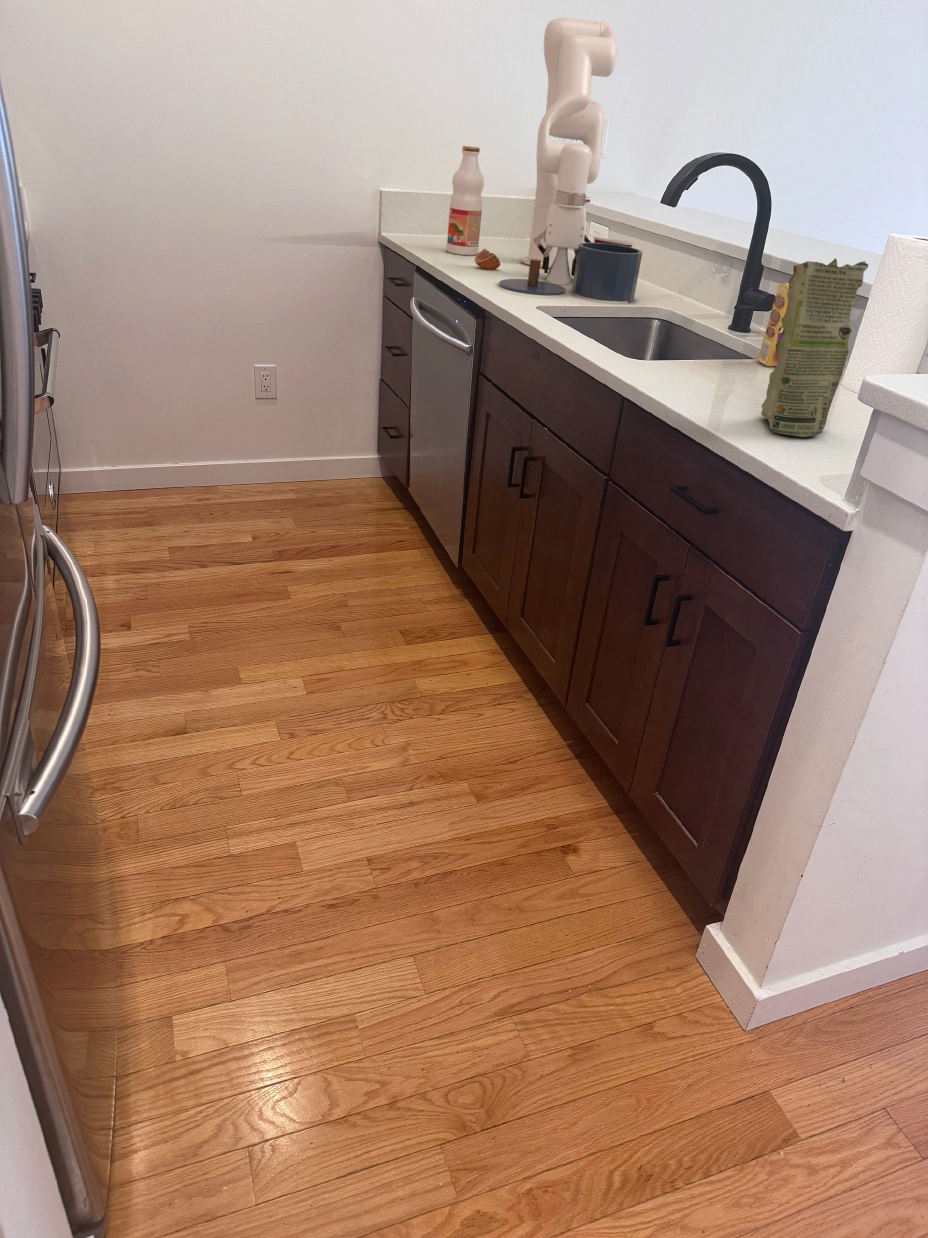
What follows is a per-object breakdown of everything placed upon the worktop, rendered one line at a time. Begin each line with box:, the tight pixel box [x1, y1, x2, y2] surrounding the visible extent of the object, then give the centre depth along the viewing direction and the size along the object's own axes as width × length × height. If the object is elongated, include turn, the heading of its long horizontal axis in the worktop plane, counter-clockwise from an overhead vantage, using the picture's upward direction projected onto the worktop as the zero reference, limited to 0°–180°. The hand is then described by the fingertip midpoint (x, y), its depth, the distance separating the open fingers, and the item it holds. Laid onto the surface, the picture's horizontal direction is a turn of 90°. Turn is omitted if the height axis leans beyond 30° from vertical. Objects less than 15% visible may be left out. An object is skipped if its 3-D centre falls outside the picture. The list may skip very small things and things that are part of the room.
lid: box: [498, 259, 566, 296], centre depth 217 cm, size 17×17×7 cm
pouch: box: [760, 257, 869, 438], centre depth 132 cm, size 11×12×25 cm
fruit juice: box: [446, 145, 485, 256], centre depth 254 cm, size 9×9×28 cm
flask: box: [545, 247, 573, 284], centre depth 231 cm, size 7×7×10 cm
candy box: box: [757, 281, 789, 367], centre depth 171 cm, size 9×4×15 cm, turn 103°
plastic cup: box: [592, 235, 635, 248], centre depth 232 cm, size 11×11×12 cm
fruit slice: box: [474, 248, 501, 271], centre depth 237 cm, size 8×7×5 cm
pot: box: [571, 241, 643, 304], centre depth 218 cm, size 16×16×12 cm
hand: (559, 273), depth 232 cm, fingers open, 6 cm apart
